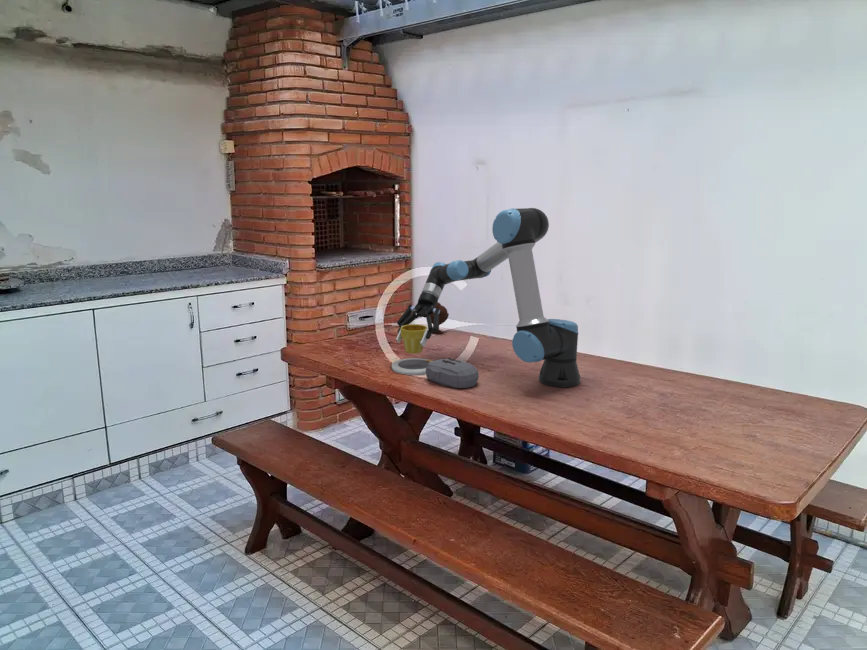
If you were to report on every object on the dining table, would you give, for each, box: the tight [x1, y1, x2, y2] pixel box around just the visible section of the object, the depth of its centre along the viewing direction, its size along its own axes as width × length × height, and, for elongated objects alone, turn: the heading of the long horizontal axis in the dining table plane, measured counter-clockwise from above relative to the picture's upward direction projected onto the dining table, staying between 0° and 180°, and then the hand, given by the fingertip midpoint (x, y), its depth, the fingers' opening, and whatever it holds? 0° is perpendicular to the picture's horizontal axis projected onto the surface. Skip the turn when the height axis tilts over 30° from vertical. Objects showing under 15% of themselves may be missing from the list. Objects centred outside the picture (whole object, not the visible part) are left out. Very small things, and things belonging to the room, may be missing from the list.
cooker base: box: [391, 357, 434, 376], centre depth 258 cm, size 18×18×2 cm
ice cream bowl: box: [430, 301, 450, 335], centre depth 313 cm, size 11×11×15 cm
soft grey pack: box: [425, 357, 480, 389], centre depth 241 cm, size 15×8×20 cm
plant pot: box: [401, 323, 428, 354], centre depth 256 cm, size 10×10×10 cm
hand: (410, 343), depth 254 cm, fingers closed on plant pot, 10 cm apart
